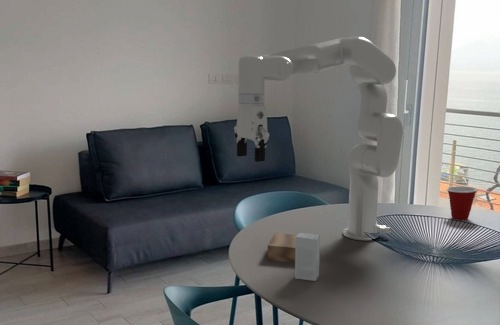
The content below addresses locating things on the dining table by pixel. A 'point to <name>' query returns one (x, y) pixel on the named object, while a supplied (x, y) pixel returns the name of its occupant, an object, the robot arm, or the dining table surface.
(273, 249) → the tan flat square block
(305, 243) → the skincare box
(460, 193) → the plastic cup
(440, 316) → the dining table surface
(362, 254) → the dining table surface
